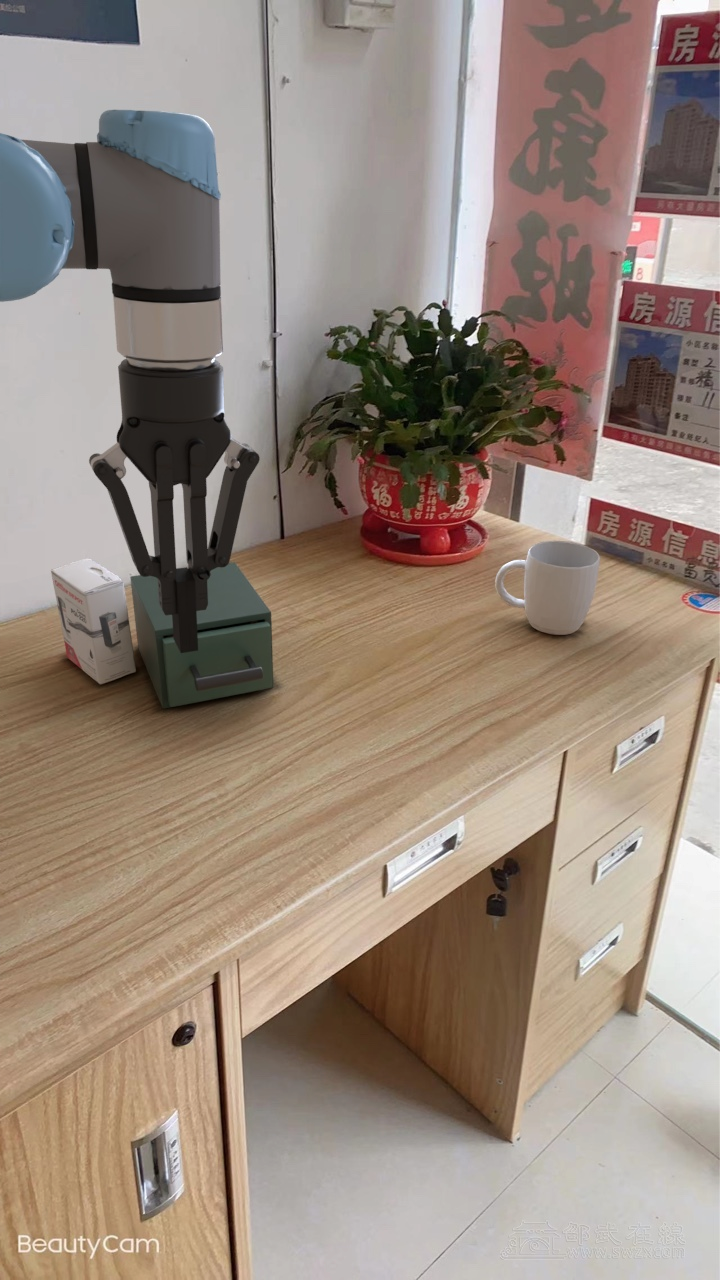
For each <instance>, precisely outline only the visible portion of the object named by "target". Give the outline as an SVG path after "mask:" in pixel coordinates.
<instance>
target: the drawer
mask: <svg viewBox="0 0 720 1280" xmlns="http://www.w3.org/2000/svg"><path fill="white" fill-rule="evenodd" d="M225 627H226V628H224V629H218V630H212V631H206V632H200V633H197V634H198V651H192V652H186V653H180V651H179V649H178V647H177V645H176V643H175V641H174V638H173V634H172V635H166V636H163V639H162V643H163V653H164V663H165V674H166V684H167V694H168V702H169V705H170V707H169V708H175V707H179V706H184V705H189V704H196V703H200V702H206V701H211V700H215V699H220V698H221V699H222V698H226V697H231V696H232V697H233V696H235V695H241V694H246V693H252V692H256V691H257V692H258V691H263V690H267V689H272V688H273V687H272V666H271V633H270V625H269V624H268V622H267V621H266V622H260V623H257V621H251V622H245V623H239V624H233V625H227V626H225Z"/></svg>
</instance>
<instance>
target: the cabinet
mask: <svg viewBox="0 0 720 1280" xmlns="http://www.w3.org/2000/svg"><path fill="white" fill-rule="evenodd" d="M210 573H211V575H210V577H209V579H208V580H207V588H208V606H207V608H206V610H200V611H196V612H197V630H202V629H208V628H215V627H221V626H227V625H233V624H239V623H245V622H251V621H257V623H260V622H266V621H267V622H268V624H269V625H270V633H271V666H272V688H274V660H273V659H274V657H273V626H272V625H273V624H272V611H271V610H270V608H269V607H268V606H267V604H266V603H265V601H264V600H263V599H262V597H261V596H260V595H259V593H258V592H257V590H256V589H255V588H254V586H253V585H252V584H251V582H250V580H249V579H248V578H247V576H245V574H244V573H243V571H242V570H241V569H240V567H239V566H238V565H237V563H236V562H235V561H232V562H229V564H228V565H227V566H225V567H222V568H221V567H217V568H215V569H213V570H211V571H210ZM129 578H130V587H131V588H130V589H131V596H132V605H133V613H134V623H135V631H136V641H137V649H138V651H139V654H140V656H141V658H142V661H143V664H144V666H145V668H146V670H147V673H148V676H149V678H150V680H151V683H152V685H153V688H154V691H155V693H156V696H157V698H158V700H159V703H160V705H161V708H162V709H168V708H169V709H170V708H171V707H170V705H169V702H168V694H167V684H166V674H165V663H164V653H163V643H162V639H163V636H166V635H172V634H173V622H172V615H165V614H164V612H163V610H162V608H161V606H160V604H159V596H158V581H157V578H156V577H153V576H148V577H143V576H141V575H140V574H139V575H131V576H130V577H129Z"/></svg>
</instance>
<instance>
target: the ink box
mask: <svg viewBox="0 0 720 1280" xmlns="http://www.w3.org/2000/svg"><path fill="white" fill-rule="evenodd" d="M50 573H51V578H52V585H53V590H54V595H55V601H56V603H57V610H58V616H59V620H60V621H59V622H60V626H61V632H62V638H63V643H64V647H65V652H66V658H67V659H69V660H70V661H71V662H72V663H73V664H74V665H76V666H77V667H78V668H79V669H81V670H82V671H83V672H84V673H85V674H86V675H88V676H90V678H92V679H93V680H94V681H95V682H96V683H98V684H99V685H104V684H106V683H110V682H112V681H115V680H118V679H120V678H122V677H125V676H127V675H131V674H133V673H136V672H137V668H136V659H135V652H134V646H133V639H132V633H131V632H132V631H131V626H130V618H129V611H128V604H127V597H126V589H125V583H124V582H123V580H122V578H121V577H119V576H118V575H117V574H115V573H113V572H112V571H110V570H109V569H108V568H106V567H104V566H103V565H101V564H100V563H99V562H97V561H95V560H94V559H93V558H92V559H91V558H82V559H79V560H76V561H73V562H69V563H66V564H64V565H62V566H58V567H56V568H51V570H50Z"/></svg>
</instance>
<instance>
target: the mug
mask: <svg viewBox="0 0 720 1280" xmlns="http://www.w3.org/2000/svg"><path fill="white" fill-rule="evenodd" d="M526 555H527V556H526V559H525V560H524V559H515V560H511V561H509V562H506V563H505V564H504V565H502V566H501V567H500V569H499V570H498V572H496V576H495V582H494V586H495V590H496V593H497V595H498V597H499V599H500V600H501V601H503V602H504V603H505V604H506V605H508V606H510V607H513V608H516V609H524V610H525V614H526V619H527V621H528V624H529V625H530V626H531V627H532V628H533V629H535V630H536V631H538V632H542V633H545V634H549V635H555V636H565V635H570V634H574V633H575V632H576V631H578V630H579V629H580V628H581V626H582V625H583V624H584V622H585V620H586V617H587V615H588V613H589V611H590V609H591V605H592V601H593V599H594V596H595V592H596V586H597V584H598V583H597V582H598V577H599V570H600V561H601V557H600V554H599V553H598V552H597V551H596V550H595V549H593V548H591V547H589V546H587V545H584V544H581V543H577V542H573V541H566V540H545V541H544V540H543V541H540V542H537V543H534V544H532V546H531V547H530V548H529V549H528V552H527V554H526ZM513 570H524V581H523V583H524V584H523V592H524V593H523V598H524V599H522V598H517V597H515V596H513V595H511V594H510V593H509V592H508V591H507V590H506V589H505V586H504V580H505V577H506V575H508V574H509V573H510V572H511V571H513Z"/></svg>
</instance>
